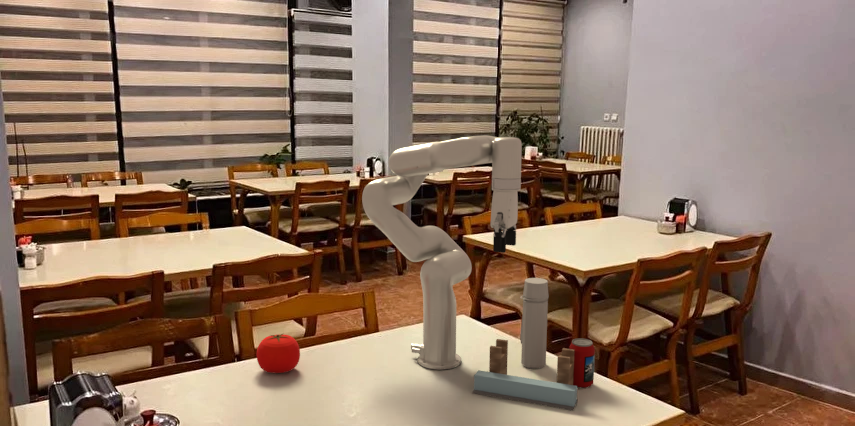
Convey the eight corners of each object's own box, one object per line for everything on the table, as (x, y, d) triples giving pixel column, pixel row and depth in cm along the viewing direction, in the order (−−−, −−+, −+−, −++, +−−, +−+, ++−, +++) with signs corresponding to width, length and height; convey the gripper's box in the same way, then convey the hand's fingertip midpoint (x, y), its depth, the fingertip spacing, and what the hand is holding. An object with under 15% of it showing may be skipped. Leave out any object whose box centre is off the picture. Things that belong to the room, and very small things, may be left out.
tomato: (297, 361, 200) (296, 326, 199) (303, 376, 189) (302, 339, 188) (255, 365, 197) (254, 330, 195) (258, 381, 186) (257, 344, 184)
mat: (472, 393, 179) (472, 391, 179) (479, 385, 184) (479, 383, 184) (573, 410, 169) (573, 408, 169) (577, 401, 174) (577, 399, 174)
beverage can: (593, 390, 181) (595, 347, 179) (567, 388, 182) (569, 345, 180) (592, 380, 187) (594, 338, 185) (567, 378, 189) (569, 336, 187)
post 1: (486, 386, 183) (487, 346, 181) (494, 376, 190) (495, 338, 188) (501, 388, 182) (502, 348, 180) (508, 378, 188) (509, 340, 187)
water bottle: (552, 366, 197) (555, 281, 193) (532, 372, 193) (534, 285, 189) (530, 356, 205) (532, 274, 201) (510, 361, 200) (512, 278, 196)
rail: (474, 389, 180) (474, 375, 179) (478, 384, 183) (478, 370, 182) (573, 406, 170) (574, 391, 169) (576, 401, 173) (577, 385, 172)
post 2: (554, 397, 176) (555, 356, 175) (559, 387, 183) (561, 347, 181) (569, 400, 175) (571, 359, 173) (574, 389, 181) (576, 349, 180)
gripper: (501, 180, 190) (500, 241, 192) (482, 187, 174) (481, 253, 177) (528, 181, 187) (526, 243, 190) (511, 189, 171) (509, 256, 174)
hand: (504, 248), depth 183 cm, fingers open, 9 cm apart
